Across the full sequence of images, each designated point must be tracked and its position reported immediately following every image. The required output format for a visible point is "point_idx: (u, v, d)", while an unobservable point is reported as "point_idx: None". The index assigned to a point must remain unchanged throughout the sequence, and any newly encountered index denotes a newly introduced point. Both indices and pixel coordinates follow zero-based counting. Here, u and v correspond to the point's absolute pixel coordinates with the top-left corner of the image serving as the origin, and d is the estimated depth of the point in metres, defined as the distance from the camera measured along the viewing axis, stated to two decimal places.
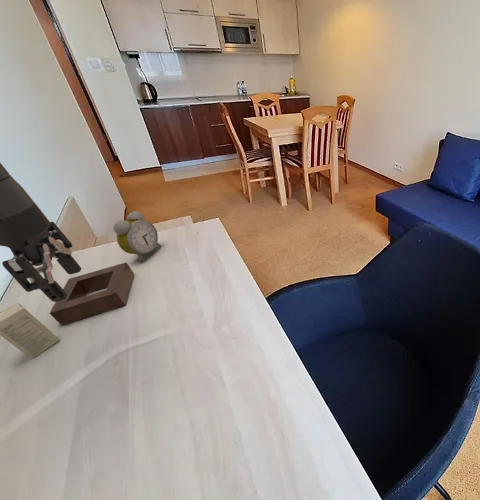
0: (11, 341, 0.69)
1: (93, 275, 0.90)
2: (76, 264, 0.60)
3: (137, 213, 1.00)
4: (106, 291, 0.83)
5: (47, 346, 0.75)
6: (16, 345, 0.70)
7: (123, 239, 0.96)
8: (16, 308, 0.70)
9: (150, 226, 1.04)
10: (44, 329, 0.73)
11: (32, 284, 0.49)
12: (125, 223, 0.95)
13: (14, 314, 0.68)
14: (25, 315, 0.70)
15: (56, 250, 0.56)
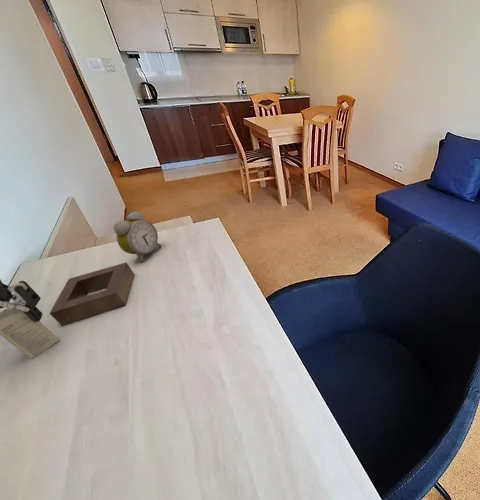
0: (11, 341, 0.69)
1: (93, 275, 0.90)
2: (31, 318, 0.70)
3: (137, 213, 1.00)
4: (106, 291, 0.83)
5: (47, 346, 0.75)
6: (16, 345, 0.70)
7: (123, 239, 0.96)
8: None
9: (150, 226, 1.04)
10: (44, 329, 0.73)
11: None
12: (125, 223, 0.95)
13: (14, 314, 0.68)
14: (25, 315, 0.70)
15: None
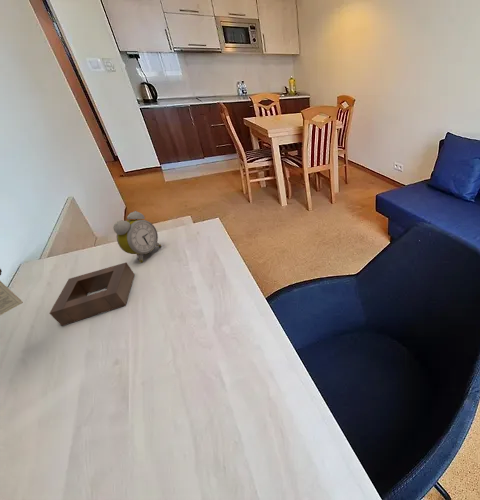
0: None
1: (93, 275, 0.90)
2: None
3: (137, 213, 1.00)
4: (106, 291, 0.83)
5: (8, 308, 0.67)
6: None
7: (123, 239, 0.96)
8: None
9: (150, 226, 1.04)
10: (4, 289, 0.66)
11: None
12: (125, 223, 0.95)
13: None
14: None
15: None
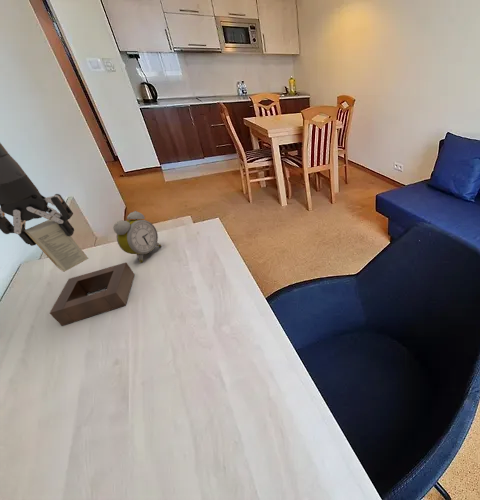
0: (47, 251, 0.75)
1: (93, 275, 0.90)
2: (64, 231, 0.76)
3: (137, 213, 1.00)
4: (106, 291, 0.83)
5: (77, 262, 0.80)
6: (51, 256, 0.76)
7: (123, 239, 0.96)
8: (51, 221, 0.75)
9: (150, 226, 1.04)
10: (75, 245, 0.79)
11: None
12: (125, 223, 0.95)
13: (50, 225, 0.74)
14: (59, 228, 0.76)
15: None
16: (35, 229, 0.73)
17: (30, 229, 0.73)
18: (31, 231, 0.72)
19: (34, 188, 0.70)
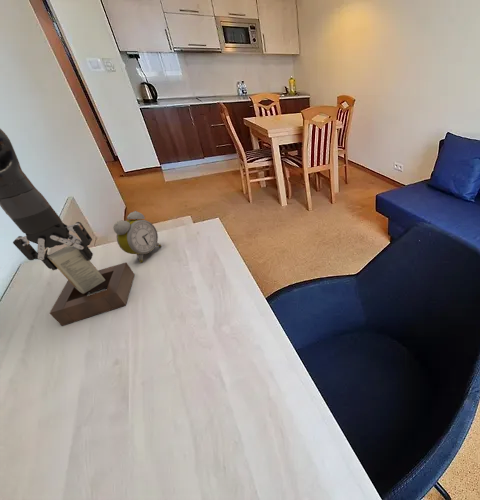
0: (68, 275, 0.79)
1: None
2: (84, 256, 0.81)
3: (137, 213, 1.00)
4: (106, 291, 0.83)
5: (95, 284, 0.85)
6: (71, 279, 0.80)
7: (123, 239, 0.96)
8: (72, 247, 0.80)
9: (150, 226, 1.04)
10: (94, 268, 0.84)
11: (30, 254, 0.77)
12: (125, 223, 0.95)
13: (71, 251, 0.79)
14: (80, 253, 0.80)
15: None
16: (57, 255, 0.77)
17: (52, 255, 0.78)
18: (54, 257, 0.77)
19: (57, 218, 0.75)
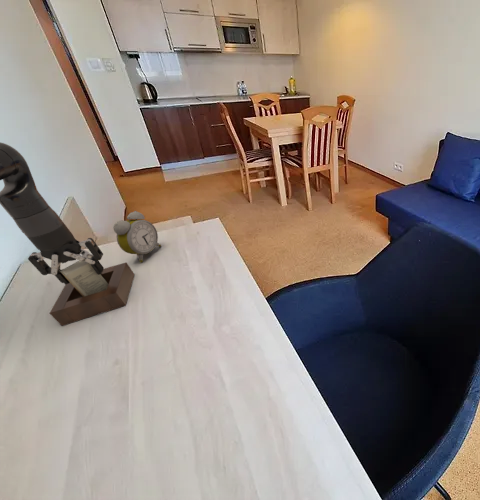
0: (80, 289, 0.82)
1: None
2: (95, 270, 0.84)
3: (137, 213, 1.00)
4: (106, 291, 0.83)
5: None
6: (83, 293, 0.83)
7: (123, 239, 0.96)
8: (83, 261, 0.83)
9: (150, 226, 1.04)
10: (104, 282, 0.87)
11: None
12: (125, 223, 0.95)
13: (83, 266, 0.82)
14: (91, 268, 0.83)
15: None
16: (70, 270, 0.80)
17: (65, 270, 0.81)
18: (67, 272, 0.80)
19: (70, 234, 0.78)
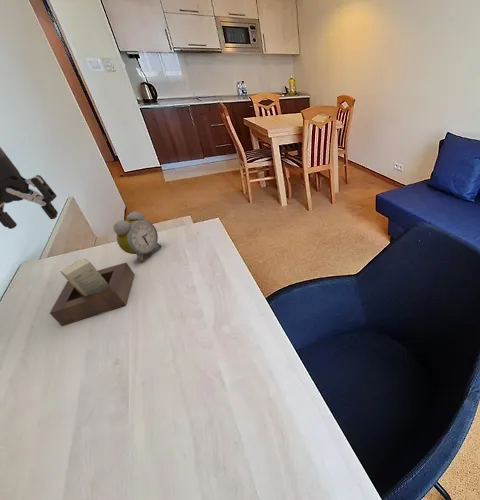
0: (80, 289, 0.82)
1: None
2: (47, 213, 0.74)
3: (137, 213, 1.00)
4: (106, 291, 0.83)
5: None
6: (83, 293, 0.83)
7: (123, 239, 0.96)
8: (83, 261, 0.83)
9: (150, 226, 1.04)
10: (104, 282, 0.87)
11: None
12: (125, 223, 0.95)
13: (83, 266, 0.82)
14: (91, 268, 0.83)
15: None
16: (69, 270, 0.80)
17: (65, 270, 0.81)
18: (66, 272, 0.80)
19: (14, 169, 0.69)
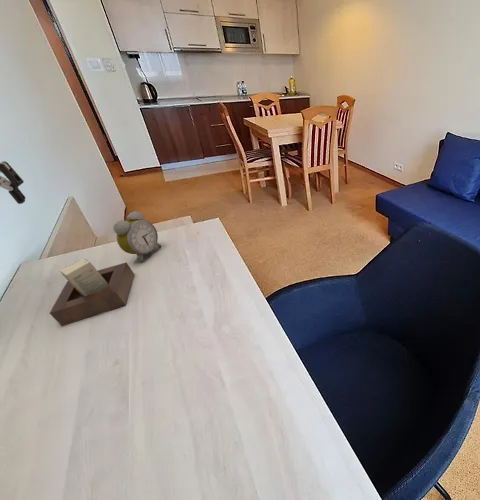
0: (80, 289, 0.82)
1: None
2: (14, 198, 0.78)
3: (137, 213, 1.00)
4: (106, 291, 0.83)
5: None
6: (83, 293, 0.83)
7: (123, 239, 0.96)
8: (83, 261, 0.83)
9: (150, 226, 1.04)
10: (104, 282, 0.87)
11: None
12: (125, 223, 0.95)
13: (83, 266, 0.82)
14: (91, 268, 0.83)
15: None
16: (69, 270, 0.80)
17: (65, 270, 0.81)
18: (66, 272, 0.80)
19: None
